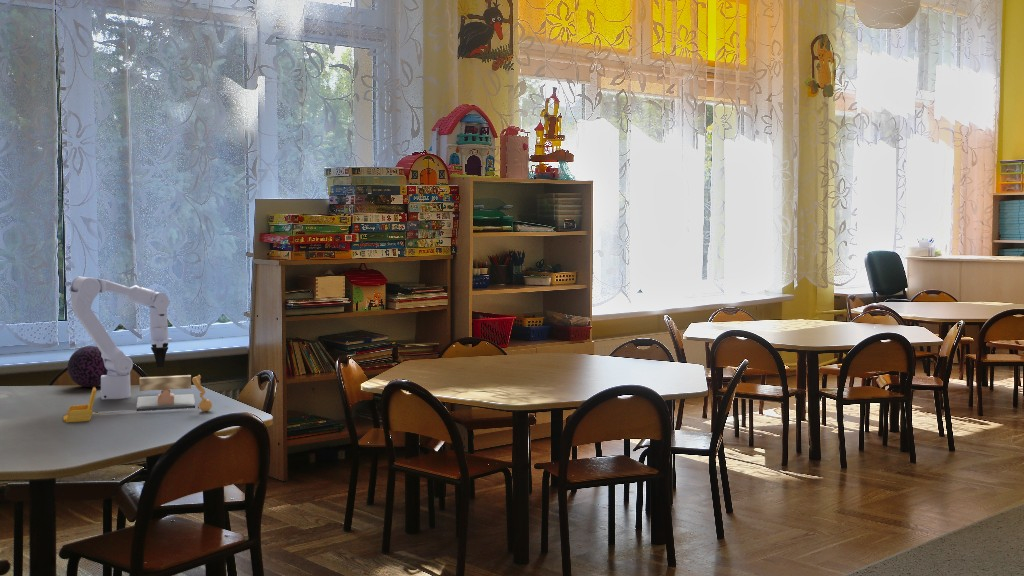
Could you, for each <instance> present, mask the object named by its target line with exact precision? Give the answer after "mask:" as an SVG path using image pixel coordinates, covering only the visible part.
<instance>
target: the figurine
mask: <svg viewBox="0 0 1024 576" xmlns="http://www.w3.org/2000/svg"><path fill="white" fill-rule="evenodd" d="M201 378H202V376H201V375H200V374H198V375H197V376H194V377H191V383H193V385H194V386H195V388H196V389H197V390H198V391H200V393H199V397H200V398H201V399H202V400H201V401H199V404H198V407H199V410H200V411H202V412H204V413H205V412H208V411H210V410H211V409H212V408H213V404H212V401H211V400H210V399H208V398H206V397H205V398H204V395H205V394H206V390H205V389H204V387H203V386H202V385H201Z"/></svg>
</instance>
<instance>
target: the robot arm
mask: <svg viewBox="0 0 1024 576" xmlns="http://www.w3.org/2000/svg"><path fill="white" fill-rule="evenodd" d="M68 290H69V293H70V300H71V310H72V312H73V313H74V315H75V317H77V320H78V321H79V323H80V324H81V325H82V327H83V328H84V329H85V331H86V332H87V334H88V336H90V338H91V340H92V341H93V342H94V344H95V345H96V347H98V348H99V350H100V351H101V357H102V358H103V360H104V366H105V368H106V369H107V370H108V372H107V375H101V385H100V392H99V393H100V399H101V400H122V399H123V400H124V399H127V398H128V399H129V398H130V397H131V395H132V394H131V371H132V369H133V366H134V363H133V360H132V358H131V357H129V356H128V355H126V354H125V353H124V351H123V350H121V349H120V348H119V347H118V346H117V345H116V344H115V343H116V342H114V341H113V339H112V337H111V336H110V335H109V332H107V330H106V329H105V327H104V326H103V324H102V323H101V321H100V319H99V318H98V317H97V315H96V314H95V312H94V310H92V305H93V301H94V300H95V299H96V298H97V296H98V295H99V293H105V292H110V293H113V294H117V295H121V296H124V297H127V300H128V301H129V302H131V303H135V304H139V305H142V306H146V307H148V308H149V325H150V326H149V327H150V328H149V330H150V331H149V332H150V340H149V342H150V343H152V344H151V347H150V349H151V351H152V353H153V357H154V360H155V362H156V363H155V364H156V368H164V367H165V362H166V356H167V352H168V349H169V342H172V340H173V339H172V338H171V337H170V338H169V330H168V329H169V327H168V326H169V325H168V307H169V305H170V302H171V301H170V299H169V297H168V295H167V294H166V293H164V292H158V291H156V290H157V289H154V288H151V289H150V288H146V287H144V286H143V284H142V285H141V284H137V285H136V284H135V285H132V286H130V287H129V286H126V285H123V284H120V283H117V282H113V281H111V280H107V279H104V278H103V279H102V278H96V277H86V276H83V275H81V276H76V277H75V278H73V280H72V281H71V284H70V287H69V289H68Z"/></svg>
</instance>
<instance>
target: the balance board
mask: <svg viewBox="0 0 1024 576" xmlns="http://www.w3.org/2000/svg"><path fill="white" fill-rule="evenodd" d="M160 391H161V392H160V393H158V394H157V395H149V396H146V395H145V396H138V397H137V401H136V406H135V407H136V412H147V411H149V412H150V411H151V410H152V411H166V410H168V411H169V410H170V411H171V410H181V409H182V410H184V409H185V410H186V409H187V408H188V409H196V401H195V394H194V393H190V394H188V393H187V394H175V393H174V392H171V389H170V390H160Z"/></svg>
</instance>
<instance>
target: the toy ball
mask: <svg viewBox="0 0 1024 576" xmlns="http://www.w3.org/2000/svg"><path fill="white" fill-rule="evenodd" d="M107 372H108V370H107V369H106V368H105V366H104V360H103V358H102V357H101V351H100V350H99V348H98V347H97V346H94V345H87V346H83V347H80V348H78V349H77V350H75V351H74V352H73V353H72V354H71V356H70V357H69V359H68V361H67V373H68V376H69V377H70V379H71V380H72V382H74V383H75V384H77V385H78V386H81V387H83V388H93V387H95V388H96V387H98V386H101V375H107Z"/></svg>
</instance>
